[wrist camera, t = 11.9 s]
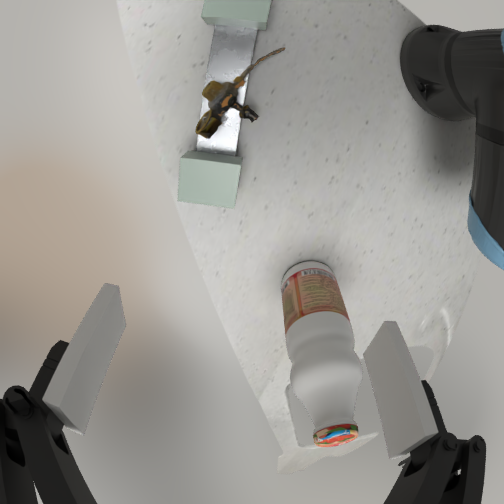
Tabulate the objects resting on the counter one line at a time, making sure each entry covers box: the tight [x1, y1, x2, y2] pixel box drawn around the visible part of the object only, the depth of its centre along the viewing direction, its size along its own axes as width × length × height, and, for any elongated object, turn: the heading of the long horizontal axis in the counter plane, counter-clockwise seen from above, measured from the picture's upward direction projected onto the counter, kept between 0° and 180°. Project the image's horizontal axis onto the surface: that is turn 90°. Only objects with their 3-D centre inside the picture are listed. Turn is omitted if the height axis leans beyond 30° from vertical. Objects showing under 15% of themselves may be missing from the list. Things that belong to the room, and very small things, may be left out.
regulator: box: [195, 48, 285, 139], centre depth 29 cm, size 8×4×15 cm
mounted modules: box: [178, 0, 272, 209], centre depth 28 cm, size 7×28×4 cm, turn 171°
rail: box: [196, 25, 258, 156], centre depth 31 cm, size 5×28×2 cm, turn 171°
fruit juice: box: [281, 261, 363, 447], centre depth 36 cm, size 9×9×28 cm
